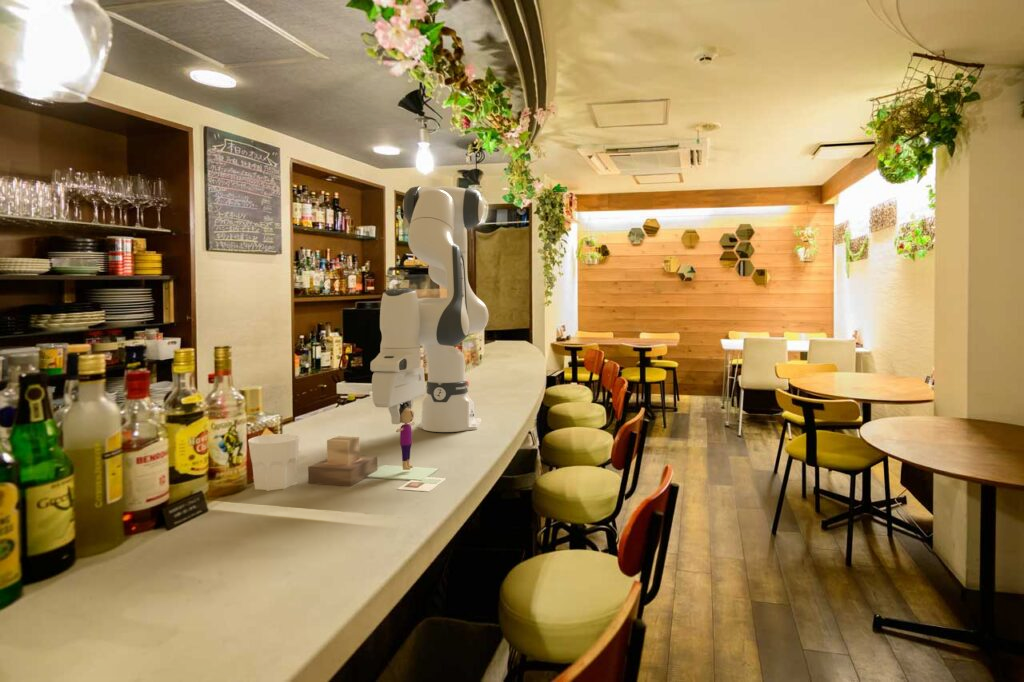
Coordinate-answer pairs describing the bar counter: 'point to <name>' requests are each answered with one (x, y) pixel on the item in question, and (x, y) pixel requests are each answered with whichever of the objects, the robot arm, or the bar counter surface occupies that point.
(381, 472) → the sage mat
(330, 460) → the oak cube
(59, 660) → the bar counter surface
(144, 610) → the bar counter surface
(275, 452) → the cup
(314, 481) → the base brick
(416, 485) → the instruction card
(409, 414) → the toy
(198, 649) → the bar counter surface
